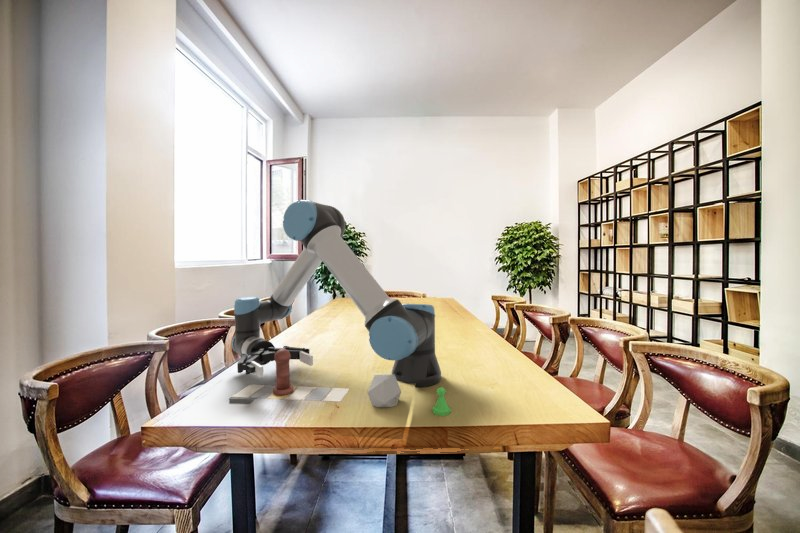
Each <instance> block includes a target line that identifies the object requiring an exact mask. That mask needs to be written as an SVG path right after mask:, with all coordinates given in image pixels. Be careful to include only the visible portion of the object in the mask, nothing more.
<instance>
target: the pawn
mask: <svg viewBox="0 0 800 533" xmlns="http://www.w3.org/2000/svg"><path fill="white" fill-rule="evenodd" d="M290 358H291V355H290V352H289V351H288V350H286V349H280V350H278V351H277V352H276V353H275V356H274V359H275V361H274V362H275V371H276V372H275V374H276V376H275V377H276V379H275V380H276V385H274V386H275V387H274V388H273V393H272V394H274V395H276V396H284V395H288V394H289V395H291V394H292V393H293V392H294V391H293V386H294V385H293V384H291V381H290V379H291V378H290V376H291V375H290V372H291V371H290V360H291V359H290ZM289 395H288V396H289Z"/></svg>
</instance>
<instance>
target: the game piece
mask: <svg viewBox="0 0 800 533" xmlns="http://www.w3.org/2000/svg"><path fill="white" fill-rule="evenodd" d="M446 393H447V392H446V389H445V388H444V387H443V386H440V387H438V388H436V394H437V395H438V397H437V400H436V403H435V405H434V406H433V407H432V408H431V409H432V412H433V415H436V416H448V415H449V414H450V413H451V408H450V407H449V406H448V403H447V401H446V398H445V395H446Z"/></svg>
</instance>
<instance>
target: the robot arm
mask: <svg viewBox="0 0 800 533" xmlns="http://www.w3.org/2000/svg"><path fill="white" fill-rule="evenodd" d="M282 227H283V232H284V233H285V235H286V236H287V237H288V238H289V239H291V240H293V241H297V242H300V243H301V244H302V245H303V247H304V248H303V249H302V251H301V252H300V253H299V255H298V257H297V258H296V259H295V261H294V262H293V264H292V266H291V267H290V268H289V270H288V271H287V272H286V274H285V275H284V276H283V278H282V279H281V281H280V283H279V284H278V286H277V287H276V288H275V290H274V291H273V293H272V294H271V296H270V297H269V298H268V299H267V300H261V301H260V299H259V298H258V297H257V296H246V297H243V296H242V297H239V298H236V299H235V300H234V306H233V308H234V310H233V313H234V337H233V338H232V340H231V348H232V350H233V351H234V352H235V353H236V355H237V356H240V359H239V360H238V361H237V364H236V365H237V367H236V368H237V373H238V374H241V373H244V371H245V375H247V376H249V375H251V374H254V375H255V376H257V377H258V378H264V366H265V365H267V364H269V363H270V362H275V359H274V356H275V353H276V352H277V351H278V350H280V349H286V350H288V351H289V352H290V355H291V358H290V360H299V362H301V363H303V364H305V365H308V366H309V367H311V366H314V355H312V354H310V348H305V347H293V346H288V345H283V347H275V346H274V344H273V343H272V342H271V341H269V340H267V339H265V338H263V337H261V335H260V334H261V324H263V323H269V322H273V321H277V320H282V319H285V318H287V317H289V316H290V315H291V313H292V309H293V305H292V304H293V302H295V299H296V298H297V297H298V296H299V294H300V293H301V291H302V290H303V289H304V287H305V286H306V284H307V283H308V282H309V280H311V278H312V276H313V275H314V273H315V272H316V271H317V270H318V268H319V267H320V265H321V264H322V263H323V264H324V265H325V267H326V268H327V270H328V271H329V272H330V273H331V275H332V276H333V278H335V280H336V281H337V283H338V284H339V285H340V286H341V288H342V289H343V290H344V292H345V293H346V294H347V295H348V297H349V298H350V299H351V301H352V302H353V303H354V305H355V306H356V307H357V309H358V310H359V311H360V313H361V314H362V316H364V319H365V320H364V327H365V329H367V331H368V336H369V337H368V341H369V344H370V347H371V349H372V350H373V352H374V353H375V354H376V355H378V357H380V358H381V359H384V360H387V361H392V362H393V361H394V364H393V367H392V370H391V375H393V374H395V377H396V379H397V382H401V383H405V384H414V387H415V388H422V387H423V388H424V387H429V386H430V387H431V386H433V385H437V384H438V383H440V382H441V380H442V370H441V367H440V365H439V362H438V358H437V355H436V320H435V319H436V313H435V307H434V305H432V304H428V303H427V304H426V303H425V304H423V303H402V302H401V301H400V300H399V299H398V298H391V297H390V296H389V295H388V294H387V293H386V291H385V290H384V289H383V288H382V286H381V285H380V284H379V283H378V281H377V280H376V279H375V278H374V276H373V275H372V274H371V273H370V271H369V270H368V268H366V266H365V265H364V264H363V263H362V262H361V260H360V259H359V258H358V257H357V255H356V254H355V252H354V251H353V250H352V249H351V248H350V246H349V244H347V242H346V241H345V240H344V239H343V237H344V234H345V232H346V220H345V218H344V215H343V213H341V211H340V210H339V209H338V208H336V207H334V206H332V205H327V204H324V203H323V204H322V203H320V202H319V203H318V202H315V201H312V200H310V199H306V200H305V199H297V200H295V201H293V202H292V203H290V204H289V205H288V206H287V208H286V210H285V212H284V215H283V220H282Z"/></svg>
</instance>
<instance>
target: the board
mask: <svg viewBox="0 0 800 533" xmlns="http://www.w3.org/2000/svg"><path fill="white" fill-rule="evenodd" d="M275 386H276V385H272V384H252V383H251V384H249V385H247V386H246V387H244V388H242V389H241V390H239V391H238V392H236V393H235V394H233V395H231V397H229V398H228V403H237V404H239V403H240V404H251V403H253V402H254V401H255V400H257V399H269V400H270V399H271V400H292V401H314V402H315V401H317V402H319V401H320V402H321V401H322V402H335V403H338V402H342V400H343V399H344V397H346V395H347V393H348V392H349V391H350V388H347V387H346V388H341V387H321V386H320V387H319V386H317V387H315V386H297V385H296V386H294V385H293V392H292V393H291V394H288V395H284V396H276V395H274V394H273V388H274V387H275Z"/></svg>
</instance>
